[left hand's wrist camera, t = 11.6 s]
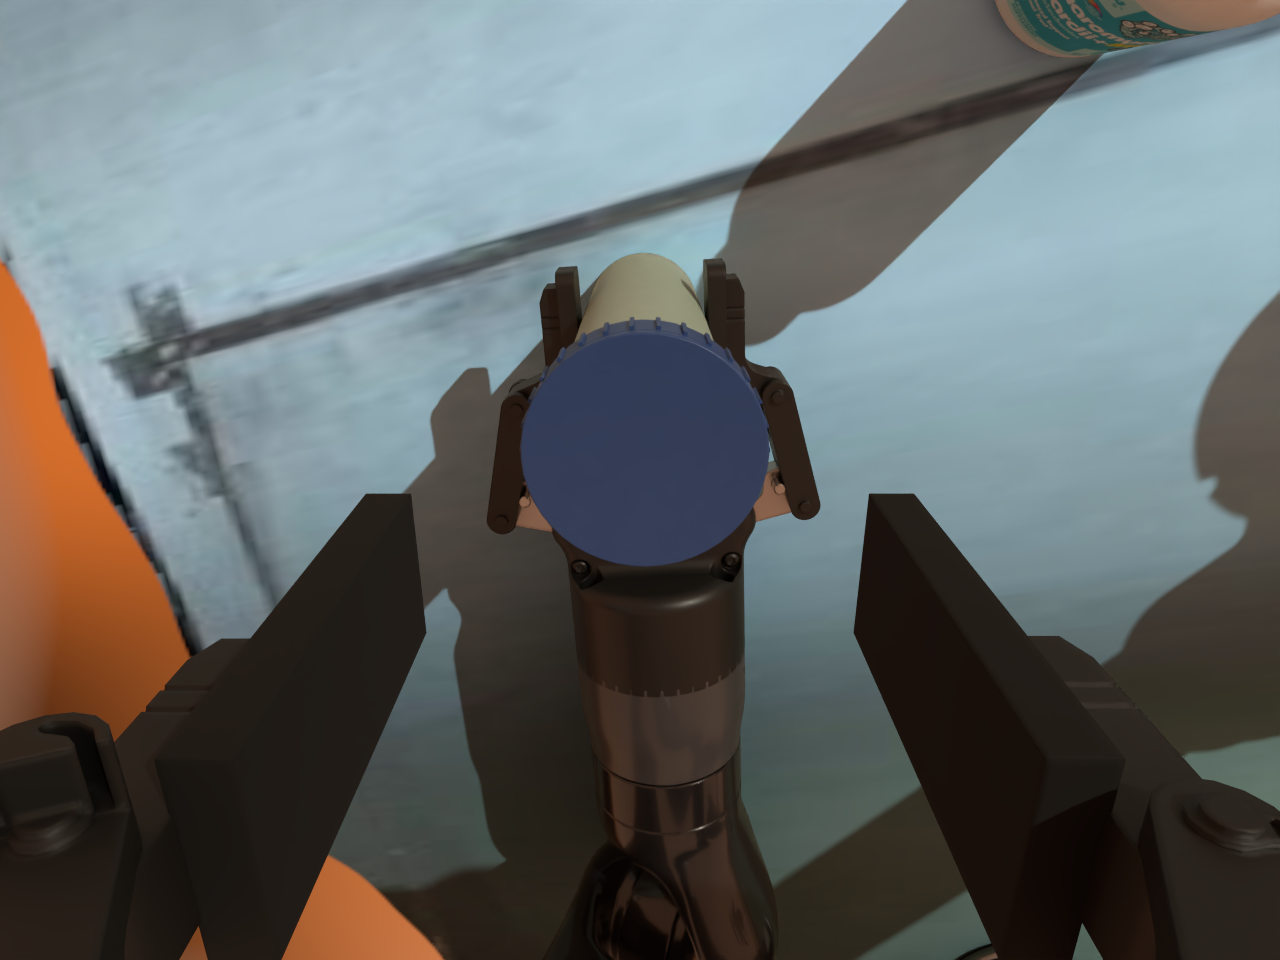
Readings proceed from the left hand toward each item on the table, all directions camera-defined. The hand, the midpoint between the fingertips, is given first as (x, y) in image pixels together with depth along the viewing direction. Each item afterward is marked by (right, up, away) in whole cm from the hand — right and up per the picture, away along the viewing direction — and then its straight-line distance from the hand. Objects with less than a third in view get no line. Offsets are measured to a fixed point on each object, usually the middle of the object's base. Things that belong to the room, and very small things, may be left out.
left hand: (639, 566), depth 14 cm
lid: (0, +2, +5) cm, 6 cm away
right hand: (0, +9, +17) cm, 19 cm away
